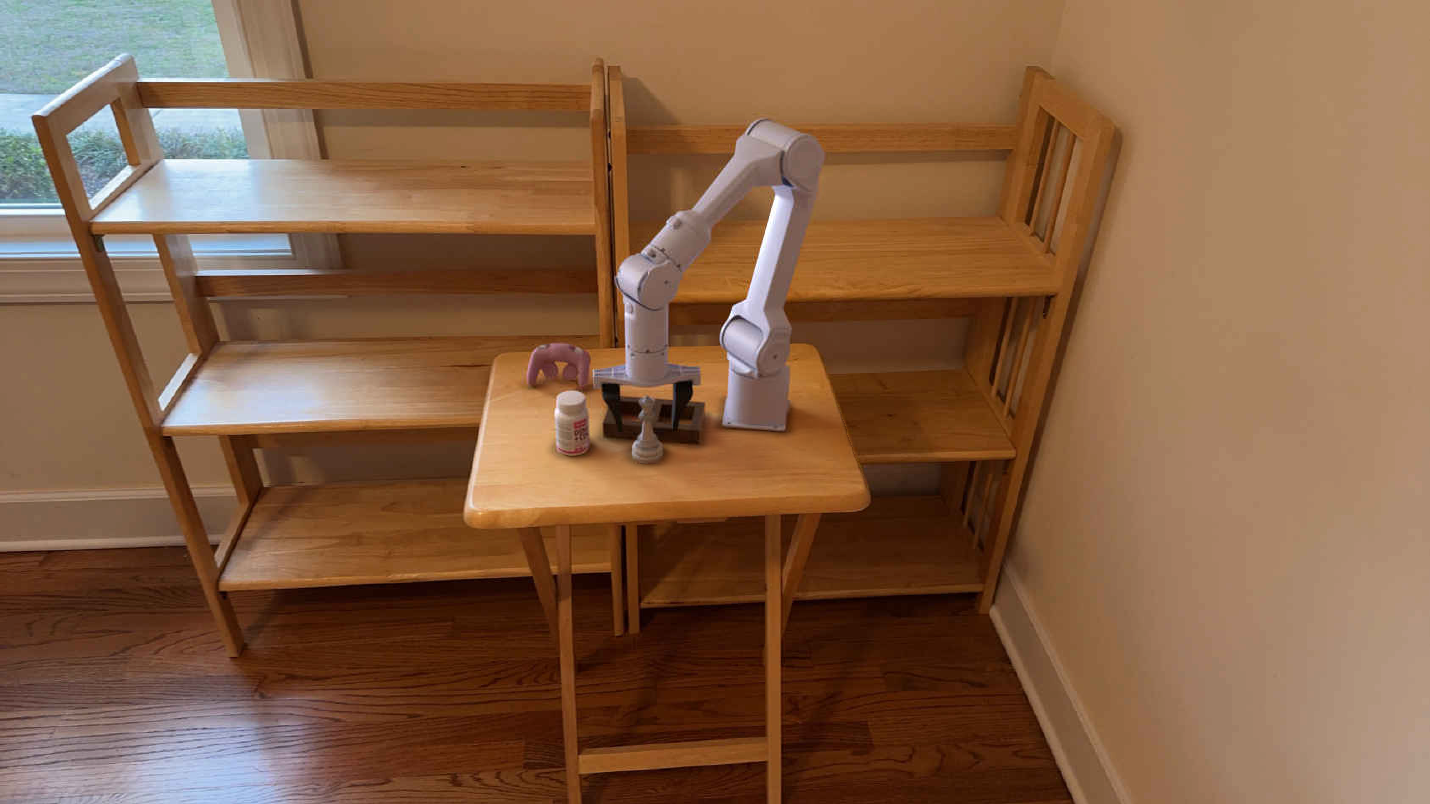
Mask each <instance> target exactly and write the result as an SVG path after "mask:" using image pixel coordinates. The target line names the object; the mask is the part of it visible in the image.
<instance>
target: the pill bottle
mask: <svg viewBox="0 0 1430 804" xmlns="http://www.w3.org/2000/svg"><path fill="white" fill-rule="evenodd" d="M586 405H587V402H586V396H585V394H584V393H582V392H580V391H578V390H566V391H561V392H560V393H559V394H558V395H557V396H556V408H555V410H554V425H555V426H554V427H555V446H556V449H557V451H558V452H559V453H560V454H562V455H565V456H571V457H575V456H576V457H577V456H579V455H582V454H584V453H586V452H587V451H588V450H589V448H590V421H589V419H590V417H589V409H588V407H587V406H586Z"/></svg>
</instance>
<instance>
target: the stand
mask: <svg viewBox="0 0 1430 804" xmlns="http://www.w3.org/2000/svg"><path fill="white" fill-rule="evenodd" d="M620 398H621V414H622V415H623V416H624V415H625V416H636V417H637V416H638V417H639V413H640V412H642V410H643V409H642V407H641V406H640V405H639V400H640V399H641V398H642V397H641V396H639V397H638V396H628V395H627V396H626V395H620ZM654 399H655V401H656V403H655V405H654V406H653V407H652V410H653V412H654V413H655V414H656V418H655V419H654V420H653V421H652V428H653V433H654V434H655V435H656V436H657V440H659V441H660V442H661V443H674V444H687V445H700V443H701V437H702V431H703V427H704V422H705V417H706V402H704V401H695V400H694V401H693V400H690V401H689V402H688V404H687V405H686V407H685V409H684V411H683V413H682V416H681V418H680V420H687V421H691V424H686V423H679V425H678V430H677V431H673V429H672V422H662V419H672V406H673V399H665V398H654ZM642 426H643V421H641V420H635V419H623V418H622V427H623V433H618V432H617V426H616V423H615V420H614V417H613V415H612V413H611V411H610V409H609V407H608V406H607V410H606V412H605V415H604V419H603V421H602V437H603V438H610V439H622V440H623V439H624V440H625V439H626V440H634V441H636V440H638V439H637V438H638V436H639V435H640V434H641V432H642Z"/></svg>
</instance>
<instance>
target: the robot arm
mask: <svg viewBox="0 0 1430 804" xmlns="http://www.w3.org/2000/svg"><path fill="white" fill-rule="evenodd" d="M825 159H826V153H825V151H824V148H822V145H821V144H820V142H819V141H818V139H817V138H816V136H815V135H812V134H809V133H803V132H801V131H798V130H796V129H794V128H791V127H788V126H786V125H783V124H780V123H777V122H776V121H774V120H773V119H770V118H767V117H761V118H758V119H755V120H754V121H753V122H751V123H750V125H749V126H748V127H747V128H746V130H745V132H744V133H742V135H741V136H739V137H738V138H737V140H736V144H735V150H734V155H733V156H732V158H731V159H730V160H729V161H728V163H727V164H726V165H725V167H723V169H722V170H721V172H720V173H719V174H718V176H717V177H716V178H715V179H714V181H713V182H712V183H711V184H710V185H709V187H708V188H707V190H706V191H705V192H704V193H703V195H702V196H701V197H700V199H699V200H697V203H696V204H695V205H694V207H693V208H692V209H689V210H680V211H677V212H676V213H675V214H674V215H671V216H670V217H669V218H668V219H667V220H666V224H665V225H664V226H663V228H662V229H661V230H660V231H659V232H658V233H657V234H656V236H654V237H653V239H652V240H651V241H650V242H649V243H648V244H647V245H646V246H645V247H644V248H643V249H642V251H641V252H638V253H635V254H632V255H629V256H628V257H626V258H625V259H624V260H623V261H622V262H621V264H620V266H619V268H618V272H617V275H615V276H614V278H613V279H614V284H615V286H616V288H617V289H618V290H619V292H620V293H621V294H622V303H623V304H624V343H625V346H624V348H625V363H624V364H620V365H614V366H610V367H605V368H598V369H597V368H595V369H594V368H593V369H592V381H593V382H592V383H593V384H592V385H593V389H594V390H598V389H601V398H602V400H603V403H605V404H606V406H607V408H608V407H609V409H610V411H611V413H612V415H613V417H614V420H615V423H616V426H617V432H618V433H623V427H622V419H623V416H622V415H623V414H621V398H620V396H621V386H628V387H635V388H641V389H643V388H644V389H650V388H651V389H652V388H657V387H661V386H666V385H672V400H673V406H672V418H671V423H672V429H673V431H677V430H678V425H679V424H680V422H681V419H680V418H681V416H682V413H683V411H684V409H685V407H686V405H687V404H688V402H689V401H692V399H693V395H694V388H693V386H697V387H698V386H701V384H702V383H701V381H702V373H701V368H700V366H698V365H697V366H694V365H693V366H692V365H683V364H678V363H677V364H676V363H670V362H669V304H670V303H671V302H672V301H674V299H675V298H676V297H677V294H678V291H679V287H680V283H681V281H682V280H683V277H684V273H685V272H686V271H687V269H688V268H689V267H690V266H691V265H692V264H693V263H694V262H695V260H696V259H697V258H698V257H699V256H700V255H701V254H702V253H703V252H704V250H705V249H706V248H707V247H708V246H709V245H710V244H711V242H712V228H713V227H714V226H715V225H716V224H717V223H719V221H720V220H721V219H723V217H724V216H726V215H727V213H729V212H730V211H731V210H732V209H733V208H734V207H735V206H736V205H737V204H738V203H739V202H740V201H741V200H742V199H743V198H744V197H745V196H746V195H747V194H748V193H750V192H751V190H752V189H754V188H756V187H757V188H759V187H771V189H772V190H773V192H774V193H775V195H774V200H773V203H772V207H771V210H770V214H769V216H768V217H769V218H768V221H767V225H766V228H765V231H764V235H763V239H762V243H761V246H760V250H759V253H758V256H757V260H756V264H755V268H754V271H753V274H752V278H751V282H750V284H749V288H748V292H747V296H746V299H744V300H742V301H740V302H737V303H736V304H733V306H732V307H731V311H730V314H729V316H728V318H727V320H726V321H725V322H724V324H723V326H722V327H721V330H720V333H719V343H720V346H721V348H722V349H723V350H725V351H726V359H727V360H728V377H727V381H728V382H727V397H725V405H724V411H723V417H722V421H721V422H722V423H721V426H722V427H724V428H733V429H734V428H735V429H745V430H746V429H747V430H757V431H758V430H760V431H773V432H786V427H787V415H788V413H789V412H790V405H791V399H789V395H790V394H789V393H790V379H791V366H790V365H786V364H787V362H788V360H789V357H790V353H791V343H790V341H791V336H792V332H793V328H792V325H791V323H790V321H789V319H788V317H787V314H786V313H785V310H784V307H785V304H786V300H787V297H788V294H789V290H790V287H791V283H792V280H793V276H794V274H795V270H796V267H797V263H798V260H799V256H800V254H801V250H802V247H803V243H804V240H805V237H806V234H807V230H808V227H809V223H810V219H811V216H812V214H813V213H812V212H813V210H814V207H815V202H816V199H817V196H818V192H819V178H820V175H821V172H822V168H823V164H824V162H825Z"/></svg>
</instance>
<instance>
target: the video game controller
mask: <svg viewBox="0 0 1430 804" xmlns="http://www.w3.org/2000/svg"><path fill="white" fill-rule="evenodd" d="M591 360H592V359H591V355H590V353H589V352H588V351H587V350H585V349H584V348H583V349H582V348H580V347H579V346H576V345H574V344H569V343H563V342H554V343H553V342H552V343H547V344H541V345H539V346H538V347H536V348H535V349H534V350H533V351H532V353H531V355H530V359H529V362H528V366H527V372H526V383H527V385H528V386H530V387H532V386H533V385H534V384H535V383H536V381H537V379H538V376H539V374H540V371H542V373H543V375H544V377H546V378H547V379H553V378H557V376H558V374H559V367H558V365H557V364H556V363H557V362H559V363H565V364H566V365H565V366H564V368H563V369H562V376H563V378H564V379H565V380H568V381H572V380H575V379H576V378H577V377H578V378H577V379H578V380H577V383H578V387H579V389H580V390H582V391H583V390H585V389H586V387H587V385H588V382H589V376H590V370H591V369H590V365H591V362H592V361H591Z"/></svg>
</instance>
